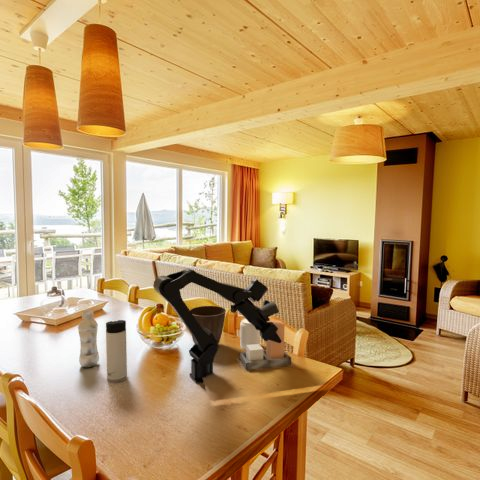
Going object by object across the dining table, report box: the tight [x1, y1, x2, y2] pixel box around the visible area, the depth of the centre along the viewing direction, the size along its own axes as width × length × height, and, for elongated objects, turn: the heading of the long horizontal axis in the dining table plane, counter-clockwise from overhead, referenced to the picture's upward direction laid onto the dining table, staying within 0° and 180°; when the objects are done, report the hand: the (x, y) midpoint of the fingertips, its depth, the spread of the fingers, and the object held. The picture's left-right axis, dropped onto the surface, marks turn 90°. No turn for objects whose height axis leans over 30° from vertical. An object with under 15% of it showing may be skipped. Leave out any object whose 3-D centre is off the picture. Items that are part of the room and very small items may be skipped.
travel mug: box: [105, 319, 128, 384], centre depth 110 cm, size 6×7×20 cm
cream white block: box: [245, 344, 264, 361], centre depth 121 cm, size 5×5×6 cm
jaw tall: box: [265, 320, 286, 359], centre depth 122 cm, size 5×5×13 cm
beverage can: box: [239, 317, 261, 351], centre depth 136 cm, size 8×8×12 cm
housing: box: [236, 349, 295, 373], centre depth 122 cm, size 19×11×4 cm, turn 105°
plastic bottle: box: [77, 309, 100, 368], centre depth 120 cm, size 6×7×20 cm
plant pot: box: [189, 305, 227, 345], centre depth 136 cm, size 15×15×16 cm
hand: (278, 339), depth 123 cm, fingers closed on jaw tall, 5 cm apart
